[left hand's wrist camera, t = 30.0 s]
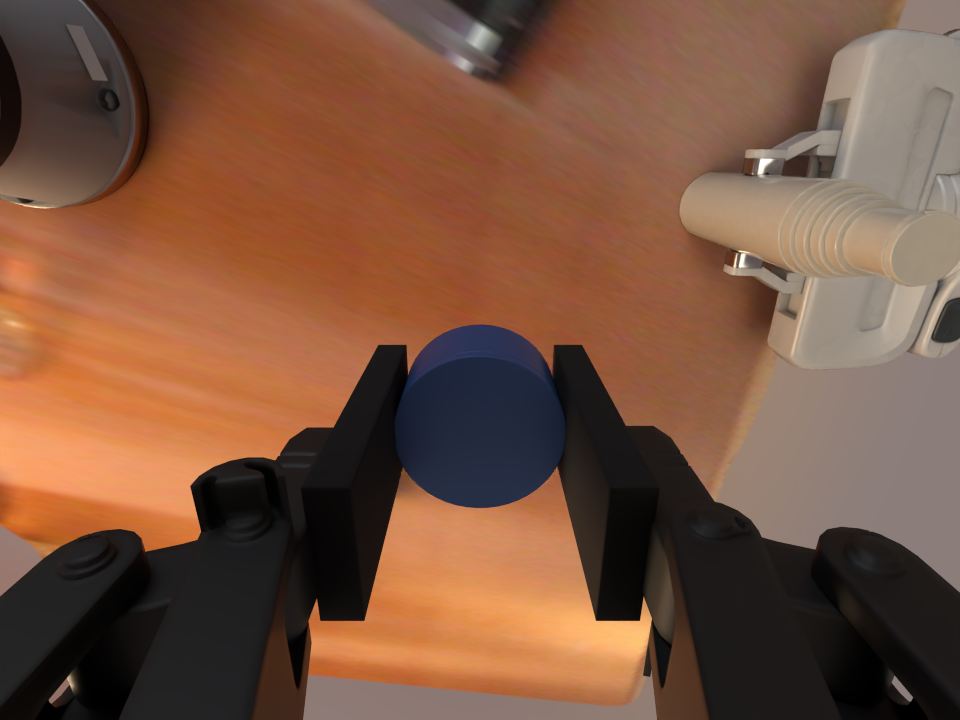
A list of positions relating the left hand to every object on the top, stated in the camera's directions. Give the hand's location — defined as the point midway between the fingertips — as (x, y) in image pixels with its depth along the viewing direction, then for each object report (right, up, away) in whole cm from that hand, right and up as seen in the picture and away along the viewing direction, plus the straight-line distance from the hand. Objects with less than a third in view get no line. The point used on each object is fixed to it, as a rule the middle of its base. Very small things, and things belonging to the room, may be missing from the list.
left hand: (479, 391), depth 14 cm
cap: (0, -1, -2) cm, 2 cm away
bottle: (+17, +12, +24) cm, 33 cm away
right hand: (+16, +10, +19) cm, 27 cm away
